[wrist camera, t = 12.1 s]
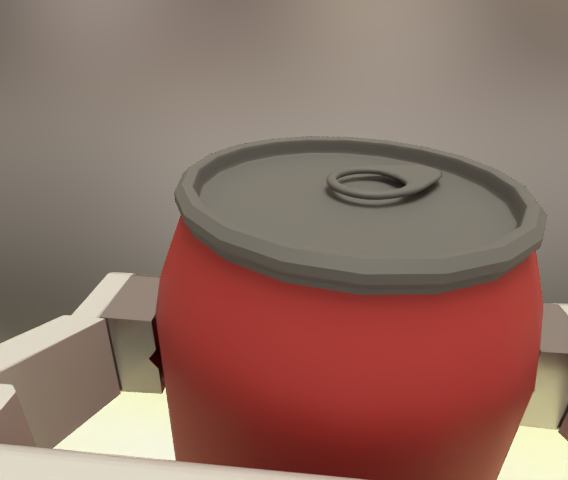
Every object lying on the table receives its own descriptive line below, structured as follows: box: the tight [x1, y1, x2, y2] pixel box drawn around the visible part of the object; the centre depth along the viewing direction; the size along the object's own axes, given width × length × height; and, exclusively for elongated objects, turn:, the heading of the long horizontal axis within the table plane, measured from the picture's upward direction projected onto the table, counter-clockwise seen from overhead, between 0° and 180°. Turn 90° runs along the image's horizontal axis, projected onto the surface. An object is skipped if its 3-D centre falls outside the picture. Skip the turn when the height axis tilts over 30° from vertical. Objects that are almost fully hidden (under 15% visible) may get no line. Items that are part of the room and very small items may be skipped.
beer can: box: [155, 136, 547, 480], centre depth 9 cm, size 7×7×12 cm
